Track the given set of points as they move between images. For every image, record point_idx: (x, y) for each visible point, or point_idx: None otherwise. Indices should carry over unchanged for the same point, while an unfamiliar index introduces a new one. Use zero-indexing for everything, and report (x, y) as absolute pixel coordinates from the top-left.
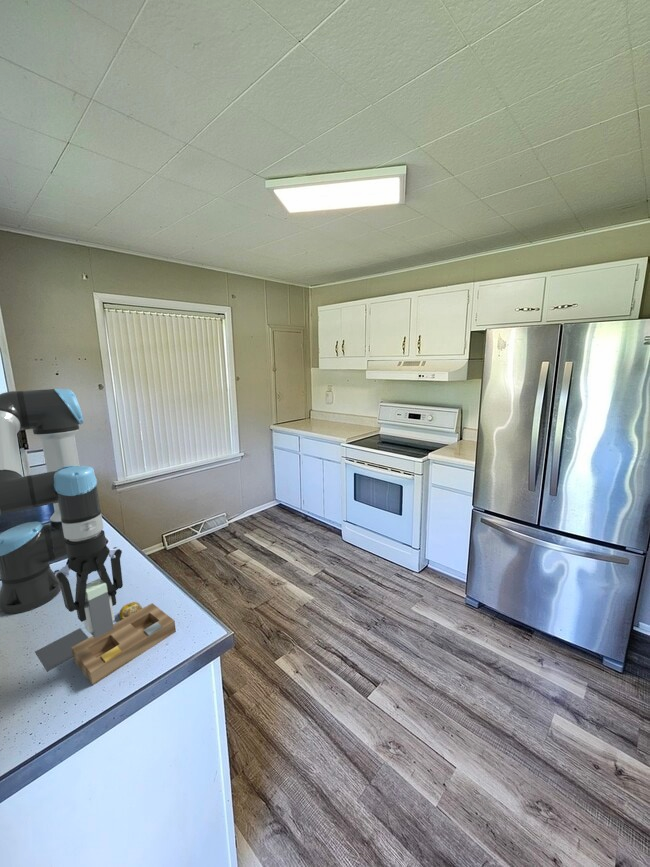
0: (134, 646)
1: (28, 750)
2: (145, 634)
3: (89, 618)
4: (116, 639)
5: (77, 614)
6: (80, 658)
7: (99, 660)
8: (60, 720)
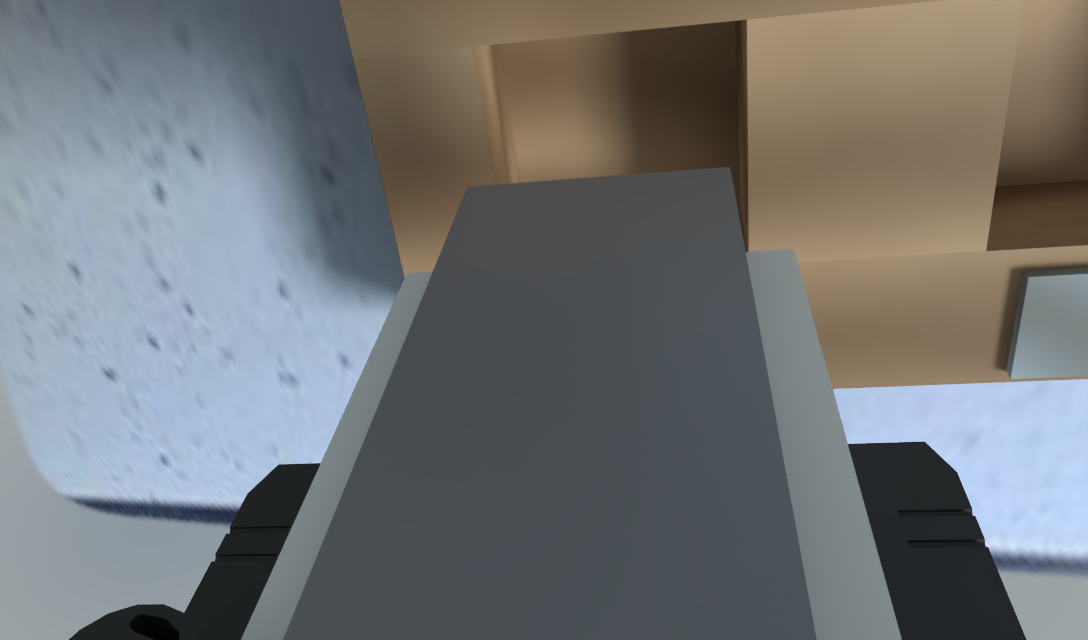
0: (833, 380)
1: (114, 460)
2: (999, 330)
3: None
4: (756, 164)
5: (215, 574)
6: (383, 161)
7: None
8: (257, 407)
